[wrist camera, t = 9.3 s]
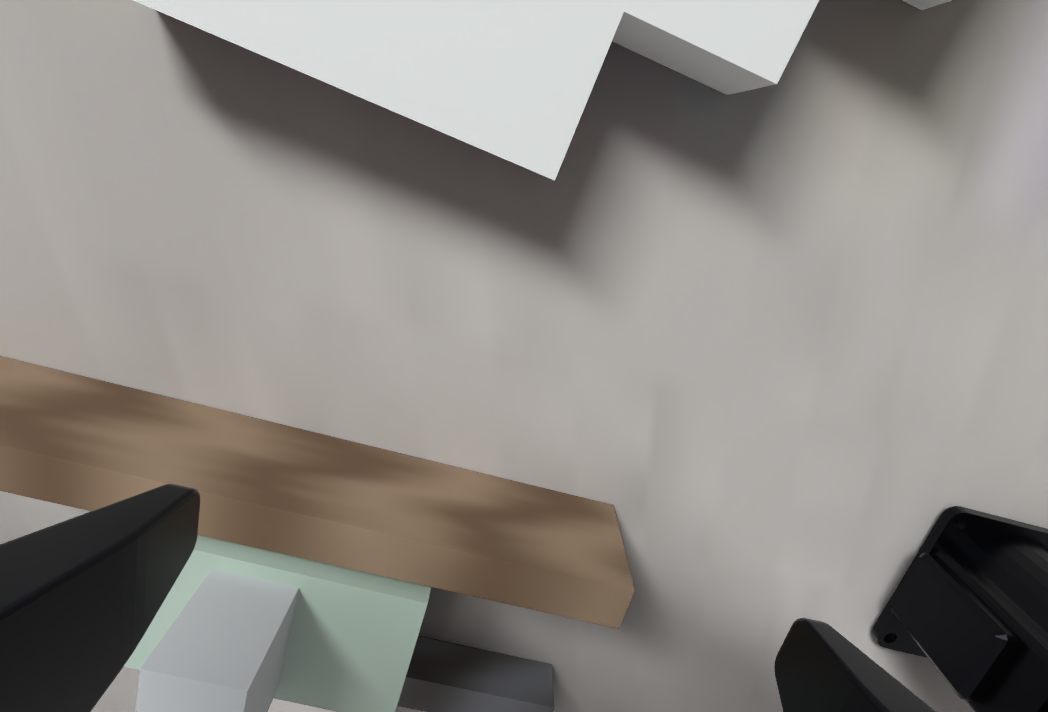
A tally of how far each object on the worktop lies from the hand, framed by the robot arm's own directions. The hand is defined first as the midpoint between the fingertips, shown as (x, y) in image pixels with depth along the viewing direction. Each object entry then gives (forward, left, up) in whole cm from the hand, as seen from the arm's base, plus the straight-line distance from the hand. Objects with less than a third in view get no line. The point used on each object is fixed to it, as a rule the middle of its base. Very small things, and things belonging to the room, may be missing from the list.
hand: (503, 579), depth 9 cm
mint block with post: (+6, +10, -12) cm, 16 cm away
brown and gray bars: (+6, +10, -12) cm, 17 cm away
